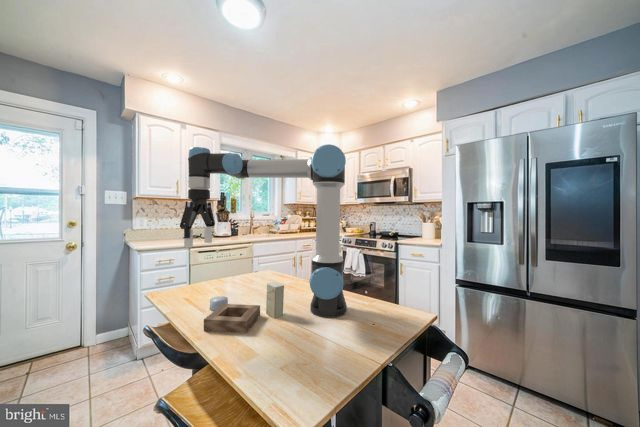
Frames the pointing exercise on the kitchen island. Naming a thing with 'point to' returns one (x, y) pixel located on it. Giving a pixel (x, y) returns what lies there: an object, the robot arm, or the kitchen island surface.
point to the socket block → (232, 318)
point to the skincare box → (275, 299)
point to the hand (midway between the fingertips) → (198, 245)
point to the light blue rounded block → (217, 302)
